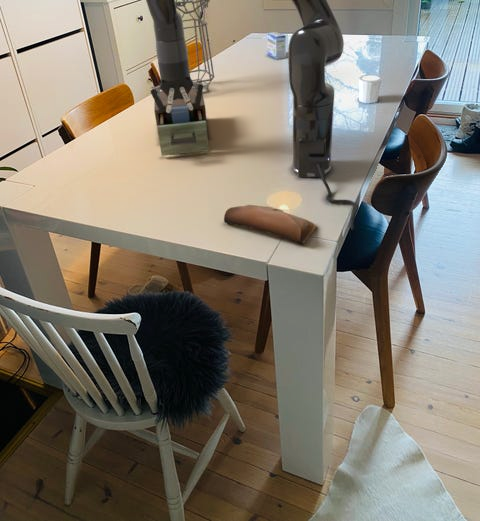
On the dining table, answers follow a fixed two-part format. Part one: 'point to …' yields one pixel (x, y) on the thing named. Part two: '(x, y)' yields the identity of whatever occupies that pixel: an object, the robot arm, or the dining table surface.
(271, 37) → the medicine box
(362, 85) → the white short cylinder
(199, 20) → the geometric lantern
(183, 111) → the block
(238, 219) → the sunglasses case
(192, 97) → the cabinet
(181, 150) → the drawer
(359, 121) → the dining table surface
